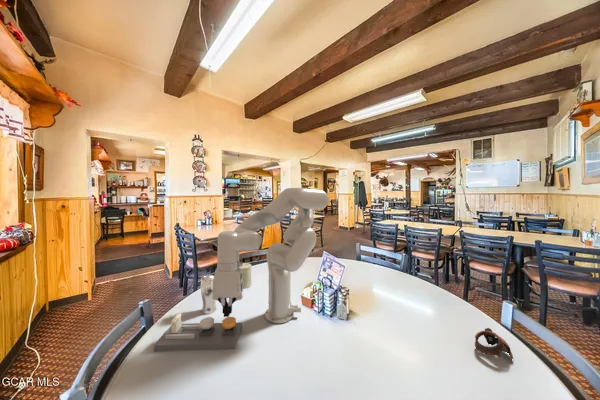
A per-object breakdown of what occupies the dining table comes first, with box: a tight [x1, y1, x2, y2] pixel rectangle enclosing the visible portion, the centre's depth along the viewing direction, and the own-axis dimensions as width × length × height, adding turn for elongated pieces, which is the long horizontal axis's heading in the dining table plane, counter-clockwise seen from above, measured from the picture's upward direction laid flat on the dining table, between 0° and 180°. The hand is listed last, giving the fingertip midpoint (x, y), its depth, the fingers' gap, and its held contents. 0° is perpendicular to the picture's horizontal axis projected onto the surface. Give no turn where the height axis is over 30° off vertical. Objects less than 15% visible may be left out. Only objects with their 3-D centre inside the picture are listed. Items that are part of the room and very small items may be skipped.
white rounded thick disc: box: [199, 316, 215, 330], centre depth 82 cm, size 5×5×3 cm
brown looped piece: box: [474, 327, 514, 360], centre depth 76 cm, size 12×10×8 cm
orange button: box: [221, 316, 237, 329], centre depth 82 cm, size 5×5×3 cm
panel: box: [153, 322, 243, 352], centre depth 82 cm, size 27×12×3 cm, turn 93°
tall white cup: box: [200, 274, 217, 315], centre depth 100 cm, size 7×7×15 cm
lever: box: [170, 312, 183, 334], centre depth 81 cm, size 3×5×6 cm, turn 3°
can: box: [240, 262, 253, 290], centre depth 127 cm, size 9×9×12 cm
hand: (227, 314), depth 81 cm, fingers closed
